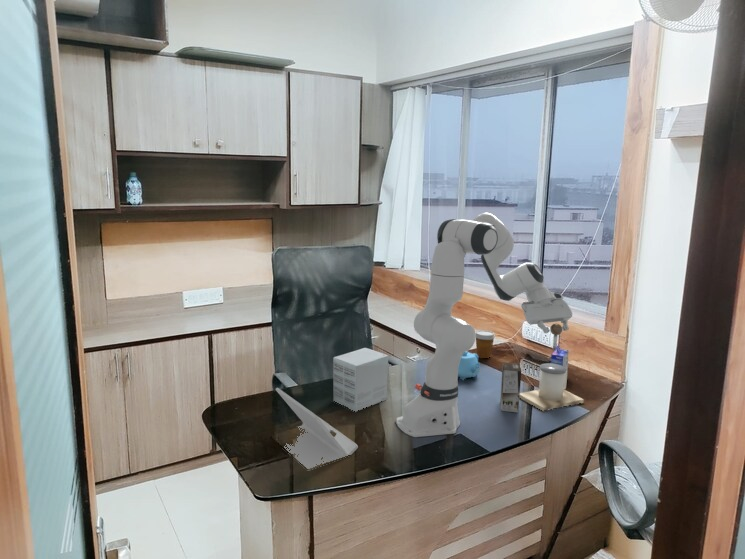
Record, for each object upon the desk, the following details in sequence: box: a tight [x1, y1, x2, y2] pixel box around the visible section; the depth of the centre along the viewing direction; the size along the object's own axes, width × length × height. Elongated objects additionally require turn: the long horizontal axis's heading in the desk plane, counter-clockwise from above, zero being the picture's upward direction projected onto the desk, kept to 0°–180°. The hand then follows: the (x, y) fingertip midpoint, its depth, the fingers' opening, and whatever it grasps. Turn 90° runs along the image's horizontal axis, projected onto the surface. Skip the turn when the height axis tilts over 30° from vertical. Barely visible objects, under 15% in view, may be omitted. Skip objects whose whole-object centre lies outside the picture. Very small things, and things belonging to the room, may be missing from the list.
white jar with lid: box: [538, 362, 568, 401], centre depth 201 cm, size 11×10×12 cm
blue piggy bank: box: [458, 350, 481, 380], centre depth 224 cm, size 15×14×11 cm
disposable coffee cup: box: [475, 329, 496, 359], centre depth 250 cm, size 10×10×12 cm
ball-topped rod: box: [549, 323, 563, 351], centre depth 197 cm, size 4×4×10 cm
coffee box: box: [499, 362, 523, 413], centre depth 193 cm, size 9×6×16 cm
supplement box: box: [332, 347, 389, 413], centre depth 197 cm, size 17×13×18 cm
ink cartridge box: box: [550, 345, 569, 372], centre depth 222 cm, size 10×6×14 cm, turn 148°
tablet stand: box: [275, 387, 359, 469], centre depth 163 cm, size 18×25×17 cm
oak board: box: [519, 389, 584, 412], centre depth 201 cm, size 20×14×2 cm
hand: (556, 331), depth 196 cm, fingers open, 8 cm apart
